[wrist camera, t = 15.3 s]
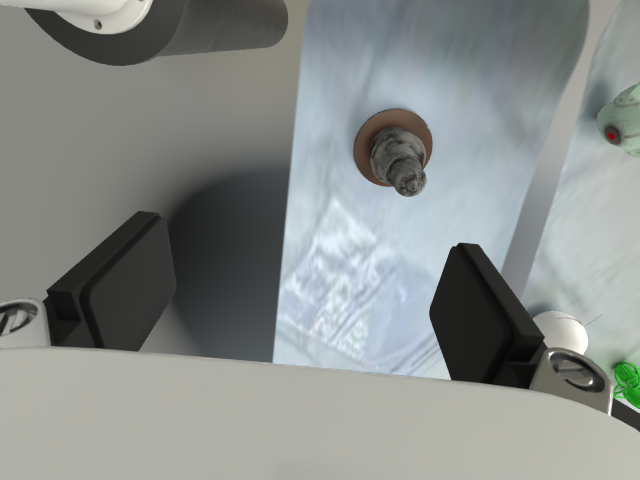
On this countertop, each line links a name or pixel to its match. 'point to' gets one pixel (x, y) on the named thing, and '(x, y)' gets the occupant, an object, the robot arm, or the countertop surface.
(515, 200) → the countertop surface
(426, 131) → the coaster
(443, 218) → the countertop surface
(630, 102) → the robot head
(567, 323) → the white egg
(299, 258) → the countertop surface
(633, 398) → the chandelier
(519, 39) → the countertop surface
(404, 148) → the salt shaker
